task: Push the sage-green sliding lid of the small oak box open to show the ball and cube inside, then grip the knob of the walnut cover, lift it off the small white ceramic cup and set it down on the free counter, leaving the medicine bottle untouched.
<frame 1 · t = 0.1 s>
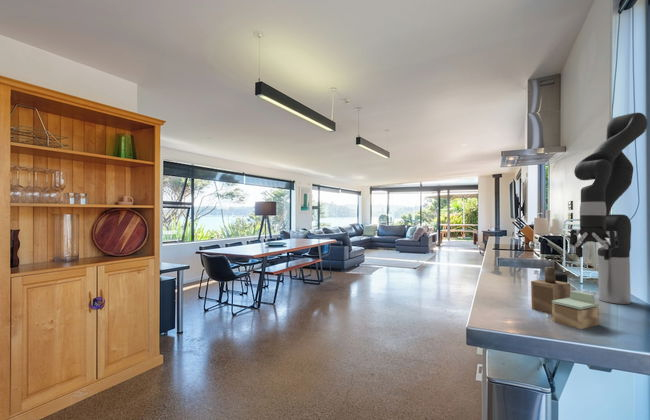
hand: (593, 258, 119), 17 cm above the counter, tool pointing down, fingers open, 8 cm apart
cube: (571, 323, 98), point 1 cm above the counter, touching oak box
oak box: (575, 325, 99), on the counter
medicine bottle: (558, 305, 121), on the counter
cover: (551, 312, 111), on the counter
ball: (578, 316, 99), point 2 cm above the counter, touching oak box
lid: (574, 299, 99), point 8 cm above the counter, slide at 0.0 cm
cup: (550, 305, 111), in the cover
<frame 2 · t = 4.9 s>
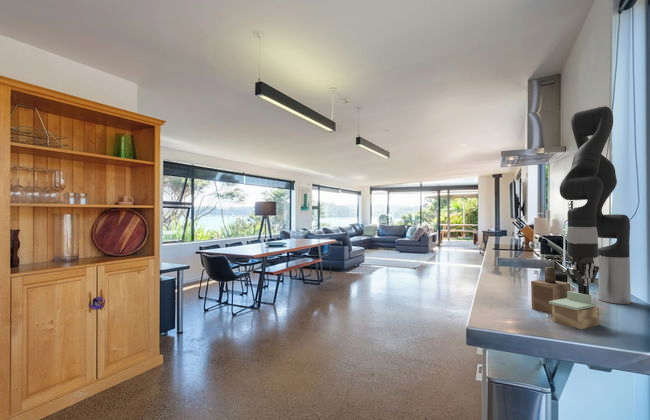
hand: (583, 297, 100), 8 cm above the counter, tool pointing down, fingers closed
lid: (571, 299, 98), point 8 cm above the counter, slide at 1.5 cm, touching gripper
everything else where it was.
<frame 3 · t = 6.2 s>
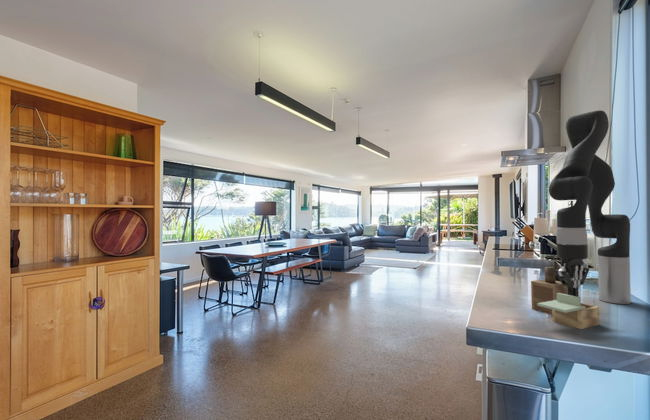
hand: (573, 299, 98), 8 cm above the counter, tool pointing down, fingers closed
lid: (560, 301, 96), point 8 cm above the counter, slide at 6.8 cm, touching gripper
everything else where it was.
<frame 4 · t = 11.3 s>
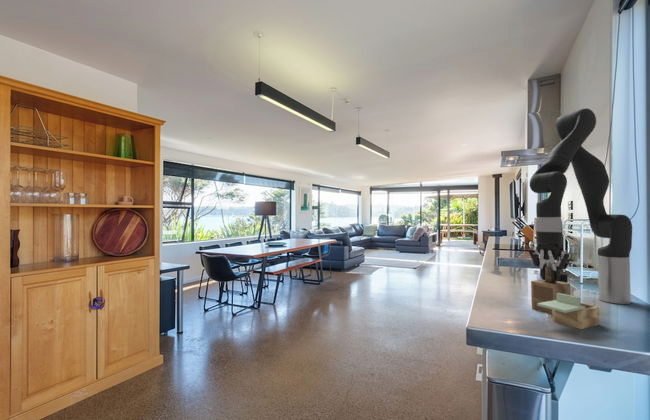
hand: (550, 280, 111), 11 cm above the counter, tool pointing down, fingers closed on cover, 3 cm apart
cover: (551, 312, 111), on the counter, touching gripper
lid: (560, 301, 96), point 8 cm above the counter, slide at 6.8 cm
everything else where it was.
when the fingers open (13 cm above the counter, at t = 16.5 s): cover drops 1 cm, on the counter.
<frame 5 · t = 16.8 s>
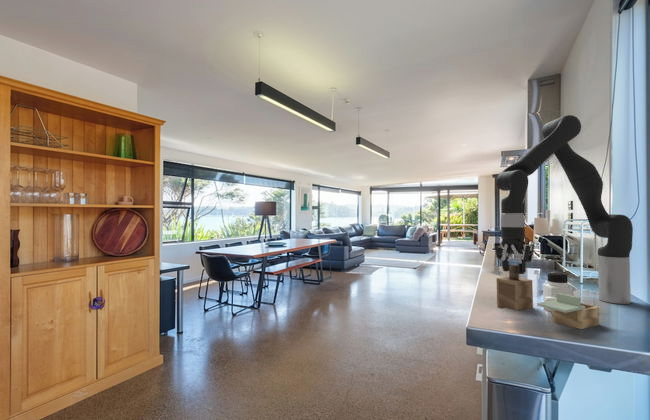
hand: (513, 272, 117), 13 cm above the counter, tool pointing down, fingers open, 5 cm apart
cover: (514, 308, 117), on the counter
everything else where it was.
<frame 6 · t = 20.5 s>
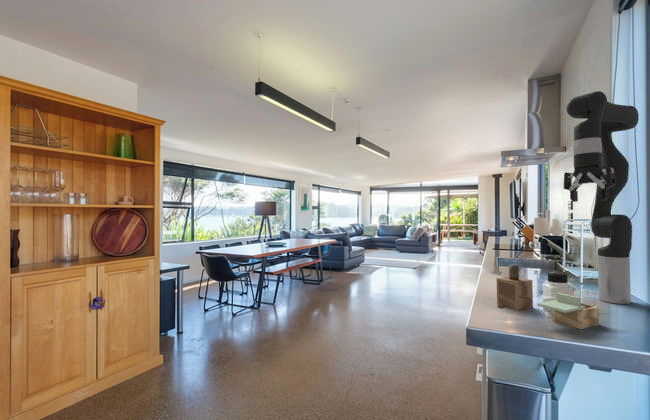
hand: (588, 201, 109), 38 cm above the counter, tool pointing down, fingers open, 8 cm apart
at the end: lid slide at 6.8 cm; cover inside the target area (0.1 cm from its centre), on the counter; cover tilted 0° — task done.
